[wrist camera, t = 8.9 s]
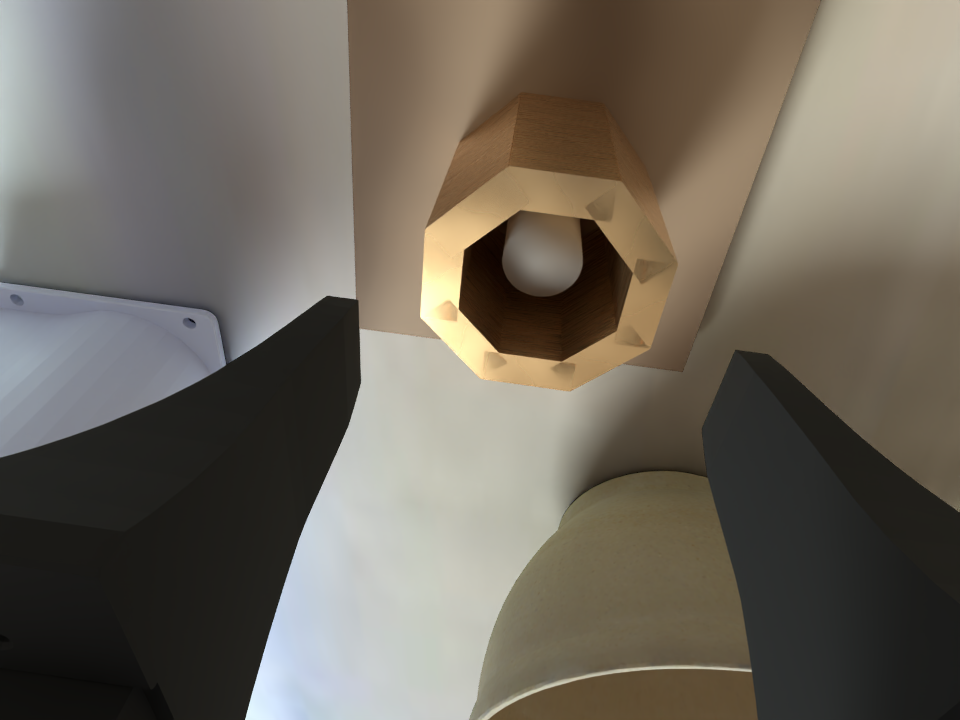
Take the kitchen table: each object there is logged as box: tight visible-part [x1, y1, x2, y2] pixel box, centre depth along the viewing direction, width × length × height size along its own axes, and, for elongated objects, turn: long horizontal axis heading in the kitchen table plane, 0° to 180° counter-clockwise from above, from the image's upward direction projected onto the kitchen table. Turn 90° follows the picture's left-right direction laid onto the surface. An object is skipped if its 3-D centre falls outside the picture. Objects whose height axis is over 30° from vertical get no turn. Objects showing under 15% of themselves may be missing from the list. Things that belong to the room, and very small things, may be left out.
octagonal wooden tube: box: [420, 92, 678, 391], centre depth 17 cm, size 6×6×6 cm
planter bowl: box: [469, 471, 758, 720], centre depth 26 cm, size 16×16×11 cm
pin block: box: [347, 0, 821, 372], centre depth 18 cm, size 12×12×6 cm
